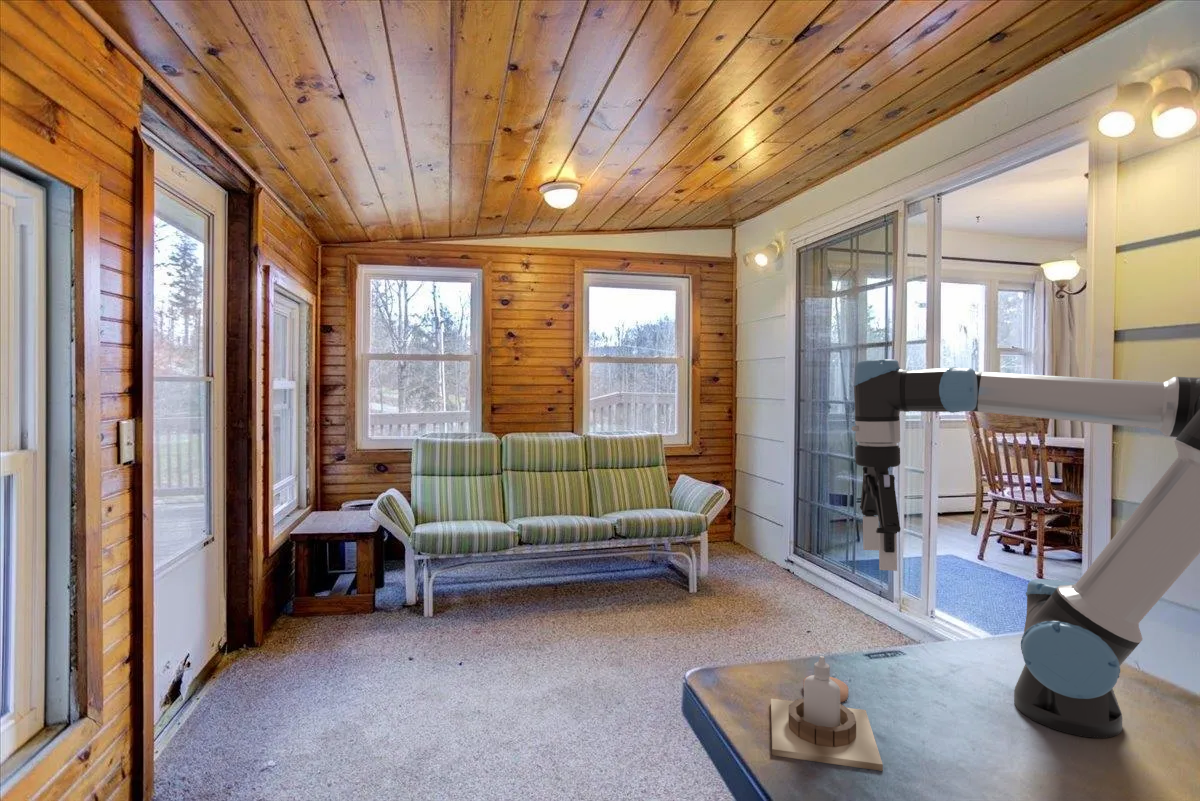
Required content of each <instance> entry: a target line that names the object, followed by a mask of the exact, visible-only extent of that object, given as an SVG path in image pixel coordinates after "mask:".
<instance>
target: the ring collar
mask: <svg viewBox="0 0 1200 801" xmlns="http://www.w3.org/2000/svg"><path fill="white" fill-rule="evenodd" d="M770 715H771V716H770V718H771V723H770V724H771V752H772V753H771V754H772V756H775V757H783V758H789V759H795V760H802V761H811V762H817V763H825V764H831V765H839V766H845V767H850V768H851V767H852V768H861V769H867V770H872V771H880V772H882V771H883V772H884V764H883V761H882V758H881V754H880V752H879V748H878V745H877V741H876V739H875V738H876V737H875V735H874V733H873V729H872V727H871V722H870V719H869V716H868V713H867V710H866V709H861V708H851V707H846V705H843V704H842V703H840V726H836V727H824V726H817V725H814V724H812V723H809V722H807V721H804V697H802V698H797V699H795V700H793V701H792V700H784V699H777V698H776V699H775V698H770Z"/></svg>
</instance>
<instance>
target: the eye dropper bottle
mask: <svg viewBox="0 0 1200 801" xmlns="http://www.w3.org/2000/svg"><path fill="white" fill-rule="evenodd" d="M813 665H814V666H813V672H814V674H812V675H808V676H809V677H808V676H806V677H807V678H806V677H805V678H806V679H805V678H804V679H805V681H804V680H803V681H804V691H803V698H804V721H807V722H809V723H812V724H814V725H817V726H824V727H836V726H840V704H841V703H840V688H839V686H838V685H837V684H836V683H835V682H834V681H832V680H831V679H830V677H831V676H830V675H831V673H830V672H831V671H830V670H831V669H830V668H831V666H830V664H829V663H827V662H826V659H825V656H824V655H820V656H819V658H818V661H817V662H814V664H813Z"/></svg>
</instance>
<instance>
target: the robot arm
mask: <svg viewBox="0 0 1200 801" xmlns="http://www.w3.org/2000/svg"><path fill="white" fill-rule="evenodd" d="M853 389H854V390H853V392H854V393H853V395H854V416H855V417H854V420H855V422H854V426H852V427H851V430H852V432H854V433H855V436H854V437H855V439H854V440H855V442H857V443H858V444H856V445H855V449H854V450H855V451H854V452H855V456H854V457H855V460H854V461H855V464H856V465H858V466H860V467H862V471H863V472H862V485H861V495H860V506H859V507H860V511H861V514H862V536H863V538H862V539H863V540H862V542H863V551H878V559H879V560H878V561H879V562H878V564H879V569H878V570H879V571H892V572H894V571H895V572H898V546H897V544H898V543H897V542H898V541H897V540H898V539H897V538H898V536H897V534H898V533H900V532H901V524H900V520H899V519H900V518H899V517H900V516H899V512H898V503H897V496H896V487H895V486H896V485H895V480H896V478H895V475H894V474H889V468H894V467H895V468H896V467H898V466H900V465H901V447H900V446H899V445H897V444H898V443H900V442H901V419H900V418H901V417H900V413H901V412H905V413H906V412H920V413H921V412H923V413H926V412H928V413H931V412H932V413H936V412H937V413H939V412H940V413H941V412H942V413H950V414H953V413H954V414H955V413H960V412H961V413H962V412H971V413H972V412H973V413H974V412H977V413H988V414H996V415H998V414H999V415H1009V416H1010V415H1011V416H1017V417H1019V416H1021V417H1030V418H1040V419H1048V420H1050V419H1051V420H1058V421H1061V420H1062V421H1069V422H1071V421H1072V422H1081V423H1093V424H1103V425H1111V426H1113V425H1114V426H1120V427H1121V426H1122V427H1132V428H1144V429H1145V428H1146V429H1153V430H1154V429H1155V430H1158V431H1160V432H1161V433H1162V434H1163V435H1164V436H1166V437H1171V438H1172V437H1173V438H1175V439H1174V441H1173V442H1174V445H1175V447H1176V450H1177V454H1178V455H1177V458H1176V459H1175V460H1174V462H1173V463H1172V464H1171V465H1170V466H1169V467H1168V469H1167V470H1166V472H1165V473H1164V474H1163V475H1162V476H1161V478H1160V479H1159V480H1158V481H1157V483H1156V484H1155V485H1154V486H1153V487H1152V488H1151V490H1150V491H1149V493H1148V494H1147V495H1146V496H1145V497H1144V499H1143V500H1142V501H1141V503H1140V504H1139V505H1138V506H1137V508H1135V510H1134V511H1133V512H1132V514H1131V515H1130V516H1129V517H1128V519H1127V520H1126V521H1125V522H1124V523H1123V525H1122V526H1121V527H1120V528H1119V530H1118V531H1117V532H1116V534H1114V536H1113V537H1112V538H1111V540H1110V541H1109V542H1108V543H1107V544H1106V546H1104V548H1103V550H1102V551H1101V552H1100V553H1099V555H1098V556H1097V557H1096V558H1095V559H1094V561H1093V562H1092V564H1090V566H1089V567H1088V568H1086V571H1085V572H1084V573H1083V574H1082V576H1081V577H1080V578H1079V580H1078V581H1077V582H1071V581H1065V580H1057V579H1056V580H1055V579H1048V578H1047V579H1045V578H1036V579H1035V578H1034V579H1032V580H1030V581H1029V582H1028V584H1027V590H1026V591H1025V596H1026V616H1025V623H1024V629H1023V634H1022V637H1021V640H1020V650H1021V653H1022V658H1023V661H1024V666H1023V668H1022V670H1021V673H1020V675H1019V678H1018V679H1017V681H1016V685H1015V687H1014V690H1013V691H1014V692H1013V702H1014V705H1015V707H1016V709H1018V711H1020V713H1021V714H1023V715H1025V717H1027V718H1029V719H1031V720H1033V721H1034V722H1036V723H1039V724H1041V725H1043V726H1045V727H1047V728H1051V729H1053V730H1056V731H1059V732H1063V733H1066V734H1070V735H1074V736H1079V737H1086V738H1094V739H1095V738H1097V739H1100V738H1101V739H1102V738H1104V739H1106V738H1113V737H1117V736H1118V735H1120V734H1121V733H1122V731H1123V713H1122V709H1121V708H1120V706H1119V702H1118V699H1117V697H1116V694H1115V692H1114V687H1115V686H1116V684H1117V683H1118V679H1119V678H1120V675H1121V665H1122V664H1123V663H1124V662H1126V659H1128V657H1129V656H1130V655H1131V654H1132V653H1133V651H1134V650H1135V649H1136V648H1137V647H1138V645H1140V643H1141V642H1142V641H1143V636H1142V632H1141V630H1140V626H1139V625H1140V623H1141V621H1142V620H1143V619H1144V618H1145V616H1146V615H1147V614H1148V613H1149V612H1150V611H1151V610H1152V609H1153V607H1154V606H1155V605H1157V603H1158V602H1159V601H1160V599H1161V598H1162V597H1163V596H1164V595H1165V594H1166V592H1168V591H1169V589H1170V588H1171V587H1172V586H1173V584H1174V583H1175V582H1176V581H1177V580H1178V579H1179V578H1180V576H1181V575H1183V573H1184V572H1185V570H1186V569H1187V568H1188V567H1189V566H1190V565H1191V564H1192V563H1193V562H1194V560H1195V559H1196V558H1197V557H1198V556H1199V555H1200V377H1197V376H1196V377H1192V376H1191V377H1189V376H1188V377H1186V376H1173V377H1171V378H1170V379H1167V380H1166V381H1148V380H1146V381H1145V380H1132V379H1131V380H1128V379H1114V378H1113V379H1112V378H1096V377H1081V376H1079V377H1078V376H1077V377H1076V376H1065V375H1064V376H1063V375H1062V376H1061V375H1058V376H1057V375H1045V374H1044V375H1043V374H1026V373H1010V372H1009V373H1008V372H995V371H994V372H992V371H976V370H974V369H973V368H970V367H947V368H945V367H944V368H943V367H942V368H925V369H901V367H900V365H899V361H898V360H896V359H892V358H891V359H868V360H867V359H865V360H860V361H858V362H857V363H856V364H855V367H854V382H853Z"/></svg>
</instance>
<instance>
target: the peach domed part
mask: <svg viewBox="0 0 1200 801" xmlns="http://www.w3.org/2000/svg"><path fill="white" fill-rule="evenodd" d="M809 676H810V675H808V676H806V677H805V678H804V679H803V682H802V684H803V685H802V686H803V687H802V688H803V689H802V691H803V692H804V681H805V679H806V678H807V677H809ZM830 679H831V680H832V681H834V682H835V683H836V684H837V685H838V686H839V688H840V704H842V703H843V702H846V701H847V700H848V698H849V686H848V685H847V684H846V683H845V682H844V681H842V680H840V679H839V678H836V677H834V676H830Z"/></svg>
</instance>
